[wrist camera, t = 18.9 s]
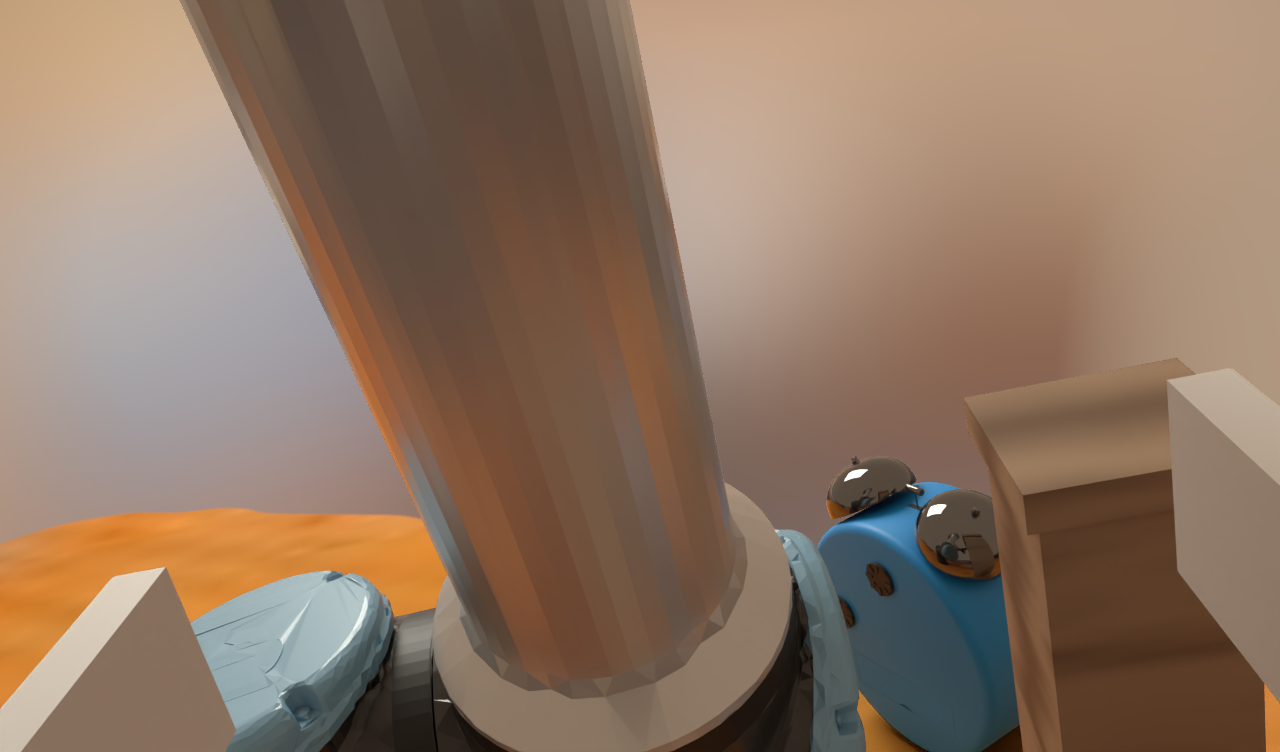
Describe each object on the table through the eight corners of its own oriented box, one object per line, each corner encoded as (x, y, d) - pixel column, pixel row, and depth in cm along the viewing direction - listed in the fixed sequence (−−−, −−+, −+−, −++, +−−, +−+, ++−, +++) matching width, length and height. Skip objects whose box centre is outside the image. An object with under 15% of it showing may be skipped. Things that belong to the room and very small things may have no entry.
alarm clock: (1087, 751, 57) (1062, 492, 52) (1000, 814, 55) (964, 549, 50) (906, 645, 68) (870, 422, 63) (827, 693, 66) (782, 466, 61)
